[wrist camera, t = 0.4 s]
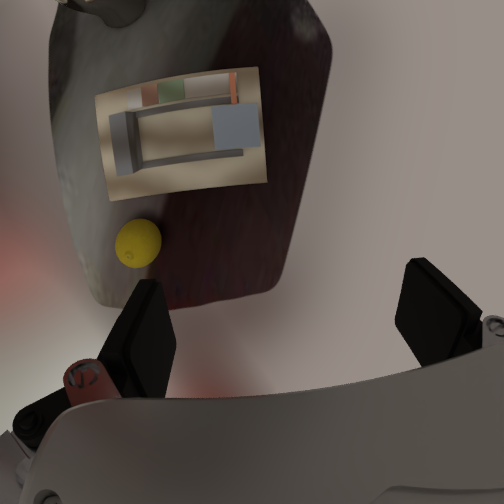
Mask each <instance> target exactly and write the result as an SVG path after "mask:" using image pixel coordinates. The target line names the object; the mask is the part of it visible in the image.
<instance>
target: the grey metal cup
mask: <svg viewBox="0 0 504 504" xmlns="http://www.w3.org/2000/svg"><path fill="white" fill-rule="evenodd" d="M56 1H57V2H59V3H61V4H62V5H64V6H66V7H68V8H70V9H73V10H76V11H79V12H83V13H87V14H92V15H96V16H99V17H100V18H101V19H102V20H103V22H104V23H105V24H106V25H107V26H109V27H111V28H122V27H126V26H128V25H130V24H132V23H133V22H135V21H136V20H137V19H138V18H139V17H140V16H141V14H142V13H143V11H144V9H145V5H146V1H145V0H56Z"/></svg>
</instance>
